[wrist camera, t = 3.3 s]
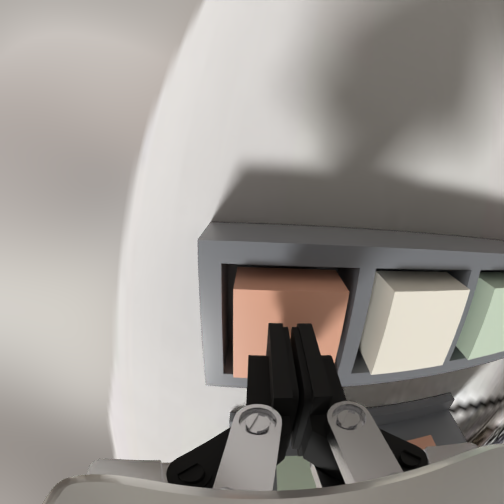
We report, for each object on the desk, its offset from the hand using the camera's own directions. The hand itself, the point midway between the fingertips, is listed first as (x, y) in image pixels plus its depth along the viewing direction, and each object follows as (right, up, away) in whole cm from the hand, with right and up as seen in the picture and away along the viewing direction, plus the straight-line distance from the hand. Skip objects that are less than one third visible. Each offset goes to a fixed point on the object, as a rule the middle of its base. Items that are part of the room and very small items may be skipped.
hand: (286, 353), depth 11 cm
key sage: (+14, 0, +4) cm, 15 cm away
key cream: (+7, +1, +4) cm, 8 cm away
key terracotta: (0, +1, +4) cm, 4 cm away
